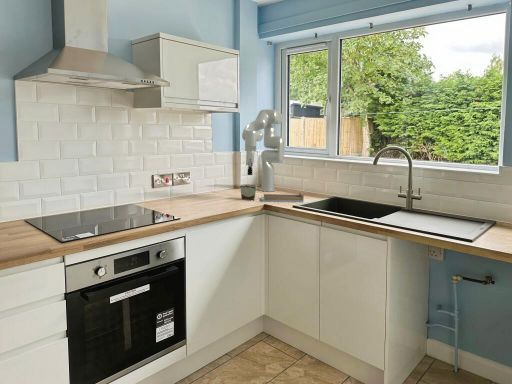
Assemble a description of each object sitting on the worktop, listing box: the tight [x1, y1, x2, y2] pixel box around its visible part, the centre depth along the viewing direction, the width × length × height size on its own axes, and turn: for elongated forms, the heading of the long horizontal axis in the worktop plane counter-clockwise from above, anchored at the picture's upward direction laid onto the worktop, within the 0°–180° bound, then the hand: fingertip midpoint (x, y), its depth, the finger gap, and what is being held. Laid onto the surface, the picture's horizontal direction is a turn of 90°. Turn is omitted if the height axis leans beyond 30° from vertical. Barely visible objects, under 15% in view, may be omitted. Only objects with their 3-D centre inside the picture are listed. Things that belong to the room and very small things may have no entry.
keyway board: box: [260, 191, 305, 203], centre depth 282 cm, size 12×28×5 cm, turn 91°
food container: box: [239, 183, 258, 202], centre depth 283 cm, size 12×6×10 cm, turn 65°
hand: (249, 174), depth 281 cm, fingers open, 9 cm apart
